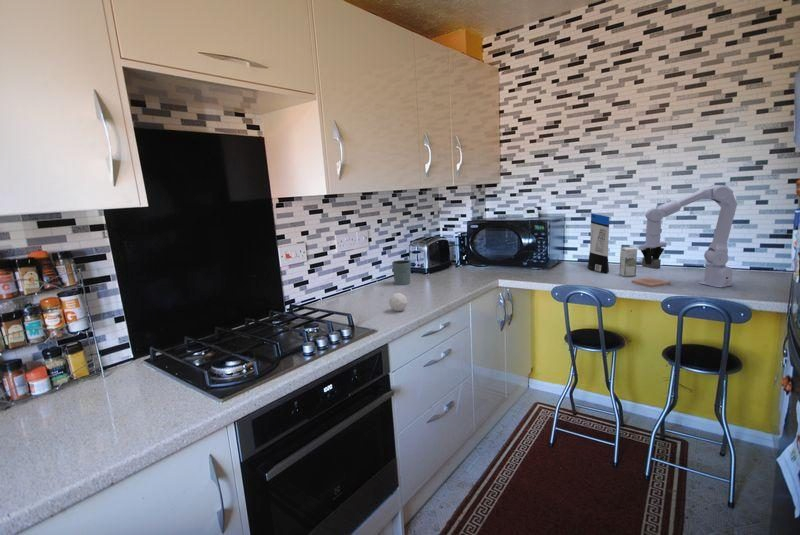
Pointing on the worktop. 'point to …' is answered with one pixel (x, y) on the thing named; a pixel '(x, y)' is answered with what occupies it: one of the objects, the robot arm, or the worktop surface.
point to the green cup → (401, 272)
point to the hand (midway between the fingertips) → (651, 263)
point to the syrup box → (628, 261)
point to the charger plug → (651, 263)
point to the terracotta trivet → (650, 282)
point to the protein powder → (599, 244)
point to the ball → (398, 302)
